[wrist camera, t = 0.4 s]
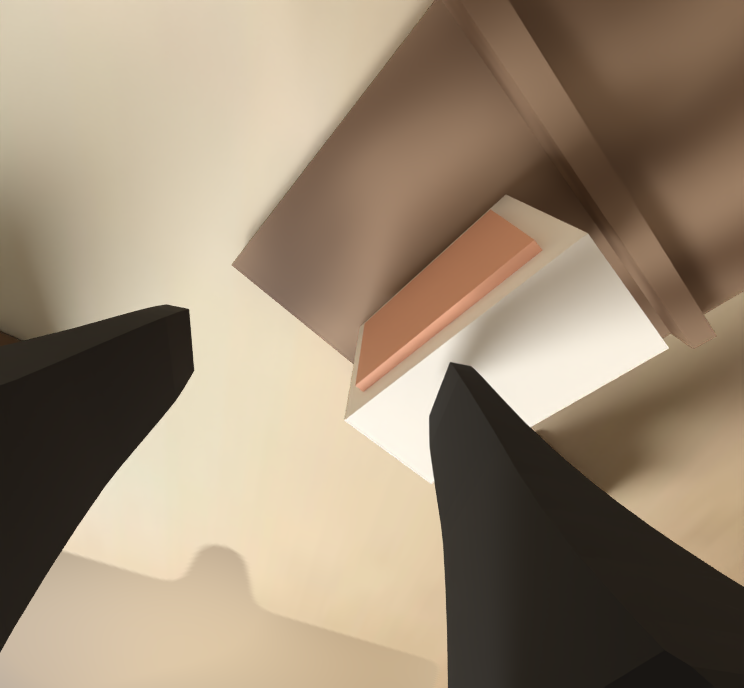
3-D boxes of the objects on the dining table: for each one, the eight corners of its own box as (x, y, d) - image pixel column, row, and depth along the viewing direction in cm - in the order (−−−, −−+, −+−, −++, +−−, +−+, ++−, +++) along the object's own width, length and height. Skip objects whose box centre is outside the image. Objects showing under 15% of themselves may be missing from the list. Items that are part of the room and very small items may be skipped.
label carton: (500, 187, 14) (579, 220, 8) (563, 269, 16) (669, 348, 10) (354, 321, 18) (335, 414, 12) (418, 377, 19) (430, 483, 13)
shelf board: (860, 191, 15) (958, 202, 12) (460, 437, 24) (469, 473, 21) (692, -324, 9) (813, -508, 6) (242, 255, 18) (217, 275, 15)
